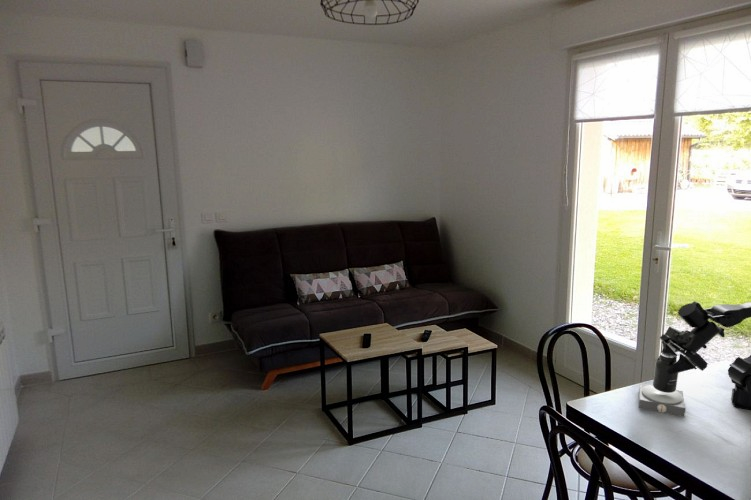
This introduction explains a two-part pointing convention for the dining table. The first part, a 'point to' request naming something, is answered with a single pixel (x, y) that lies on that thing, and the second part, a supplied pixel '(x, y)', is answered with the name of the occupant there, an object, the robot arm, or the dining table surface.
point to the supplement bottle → (665, 373)
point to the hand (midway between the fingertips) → (662, 368)
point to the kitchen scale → (661, 400)
